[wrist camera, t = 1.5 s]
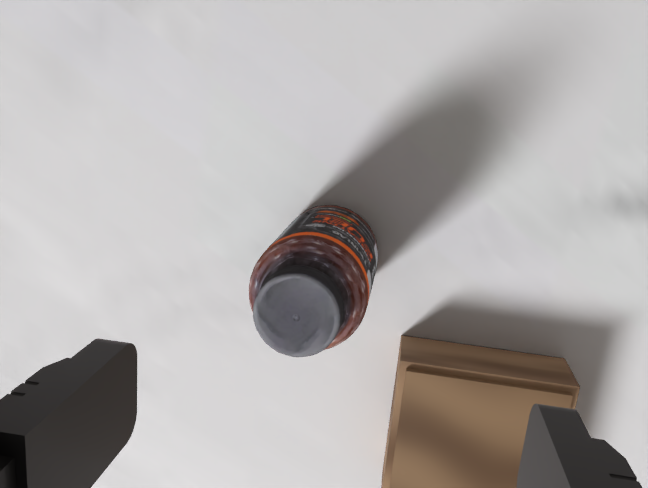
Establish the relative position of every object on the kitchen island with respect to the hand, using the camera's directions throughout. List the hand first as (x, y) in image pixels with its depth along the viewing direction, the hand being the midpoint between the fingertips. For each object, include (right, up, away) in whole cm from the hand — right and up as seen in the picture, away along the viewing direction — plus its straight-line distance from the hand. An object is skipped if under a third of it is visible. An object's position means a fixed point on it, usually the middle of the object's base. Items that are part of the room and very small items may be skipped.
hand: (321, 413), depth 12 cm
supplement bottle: (+1, +3, +25) cm, 26 cm away
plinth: (+9, -8, +27) cm, 30 cm away
